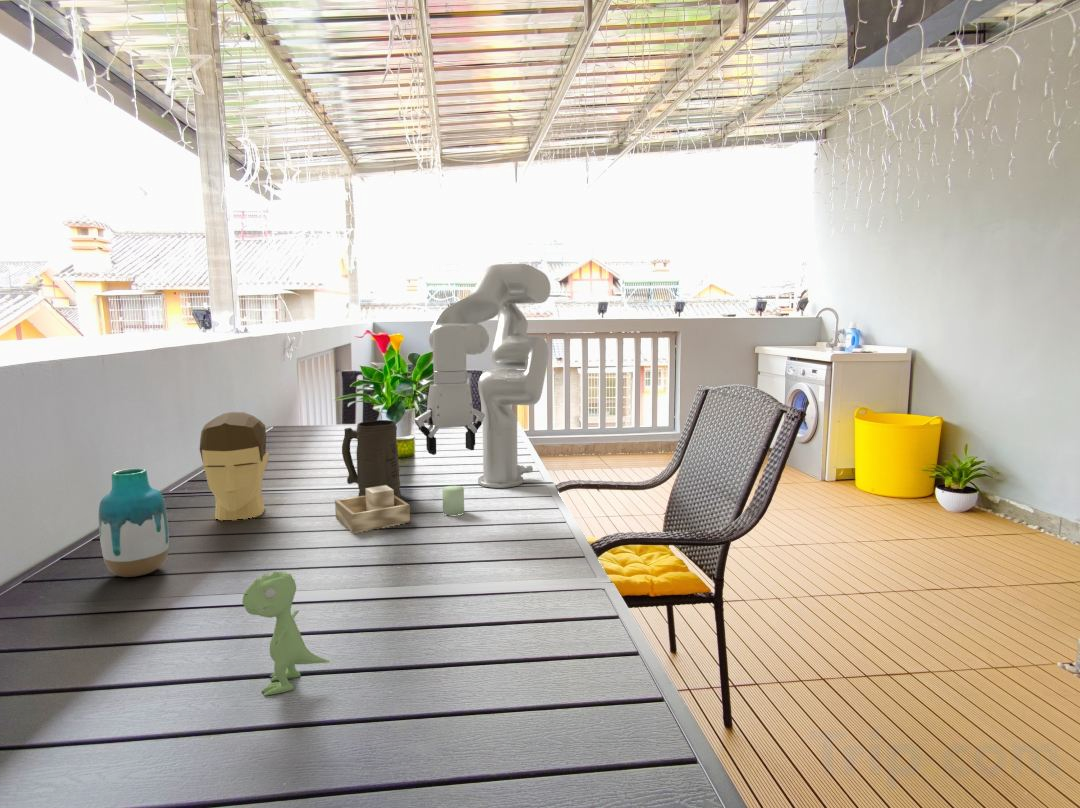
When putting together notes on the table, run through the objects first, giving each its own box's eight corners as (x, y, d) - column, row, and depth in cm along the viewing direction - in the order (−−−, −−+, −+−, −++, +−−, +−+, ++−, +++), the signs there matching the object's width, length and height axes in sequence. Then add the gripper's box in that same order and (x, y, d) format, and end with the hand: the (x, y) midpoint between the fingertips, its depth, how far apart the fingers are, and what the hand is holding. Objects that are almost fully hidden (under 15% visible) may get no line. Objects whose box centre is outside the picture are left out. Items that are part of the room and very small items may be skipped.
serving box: (389, 509, 159) (389, 491, 159) (410, 523, 149) (409, 504, 148) (335, 518, 152) (334, 500, 152) (353, 533, 142) (352, 514, 141)
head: (193, 530, 140) (188, 412, 140) (212, 516, 160) (208, 413, 160) (263, 523, 143) (258, 409, 144) (273, 511, 164) (269, 411, 164)
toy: (247, 684, 85) (238, 573, 82) (305, 660, 90) (298, 555, 88) (270, 707, 80) (261, 590, 77) (330, 680, 85) (323, 570, 83)
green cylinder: (458, 508, 159) (458, 484, 159) (467, 513, 155) (467, 489, 154) (439, 512, 157) (438, 487, 156) (448, 517, 153) (447, 492, 152)
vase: (185, 566, 124) (176, 467, 121) (134, 588, 114) (123, 480, 111) (142, 559, 127) (134, 463, 125) (90, 580, 117) (79, 476, 115)
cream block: (387, 509, 157) (386, 485, 156) (394, 514, 153) (393, 489, 152) (366, 513, 154) (365, 488, 153) (373, 518, 150) (372, 493, 149)
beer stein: (409, 492, 174) (401, 417, 171) (396, 503, 163) (388, 424, 161) (353, 494, 176) (344, 421, 173) (337, 506, 165) (327, 428, 162)
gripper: (476, 375, 159) (476, 445, 161) (408, 379, 150) (410, 452, 152) (491, 377, 153) (491, 450, 155) (421, 381, 144) (423, 458, 146)
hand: (451, 451), depth 154 cm, fingers open, 9 cm apart
